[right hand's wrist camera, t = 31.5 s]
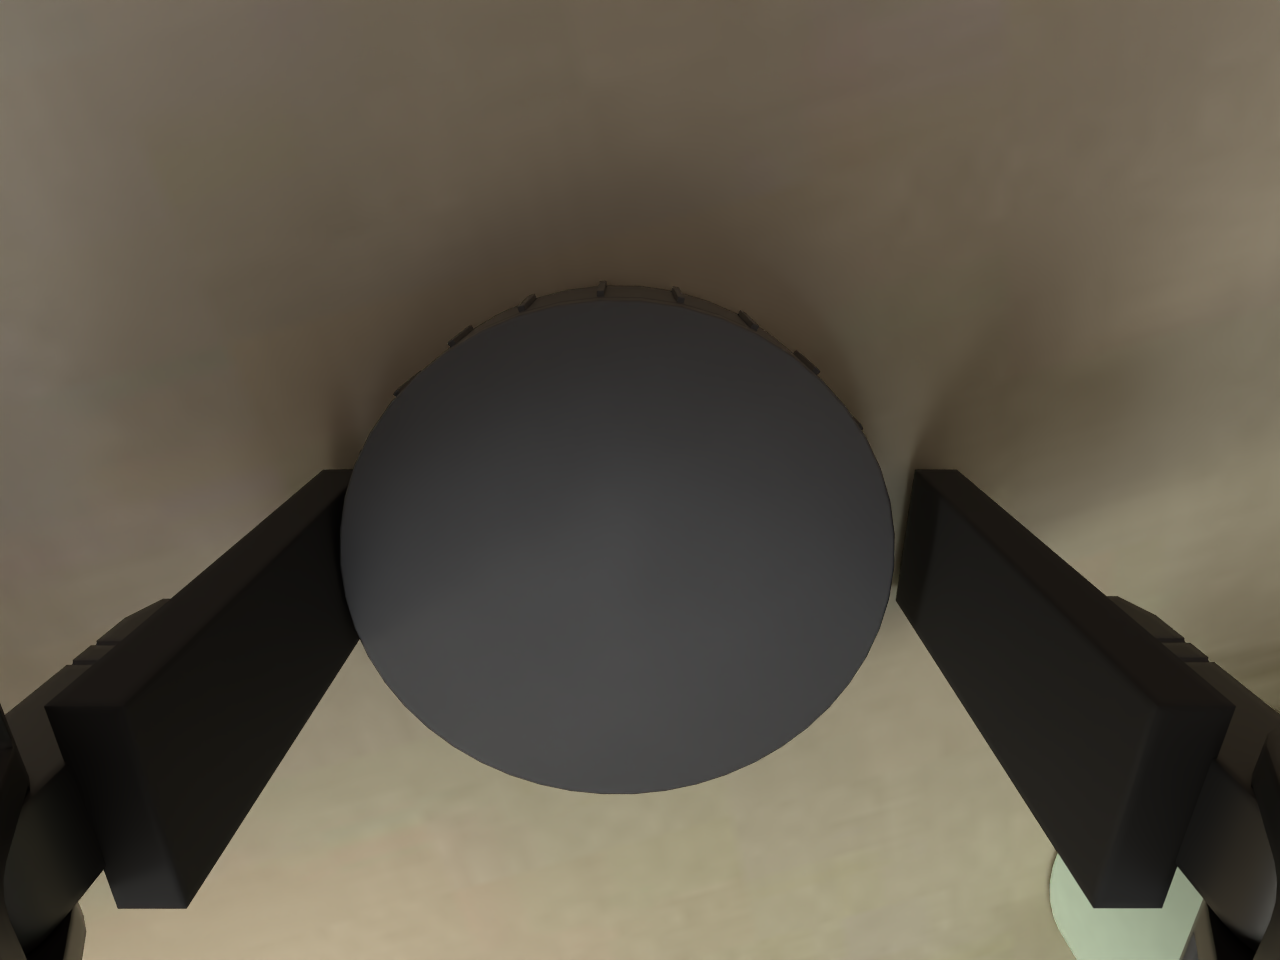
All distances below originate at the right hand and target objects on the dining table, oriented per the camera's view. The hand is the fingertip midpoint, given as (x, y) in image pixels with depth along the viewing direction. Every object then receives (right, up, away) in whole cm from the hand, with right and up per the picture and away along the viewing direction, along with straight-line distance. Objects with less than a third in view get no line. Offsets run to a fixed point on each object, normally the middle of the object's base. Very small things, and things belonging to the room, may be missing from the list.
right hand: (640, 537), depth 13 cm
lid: (0, 0, -1) cm, 1 cm away
